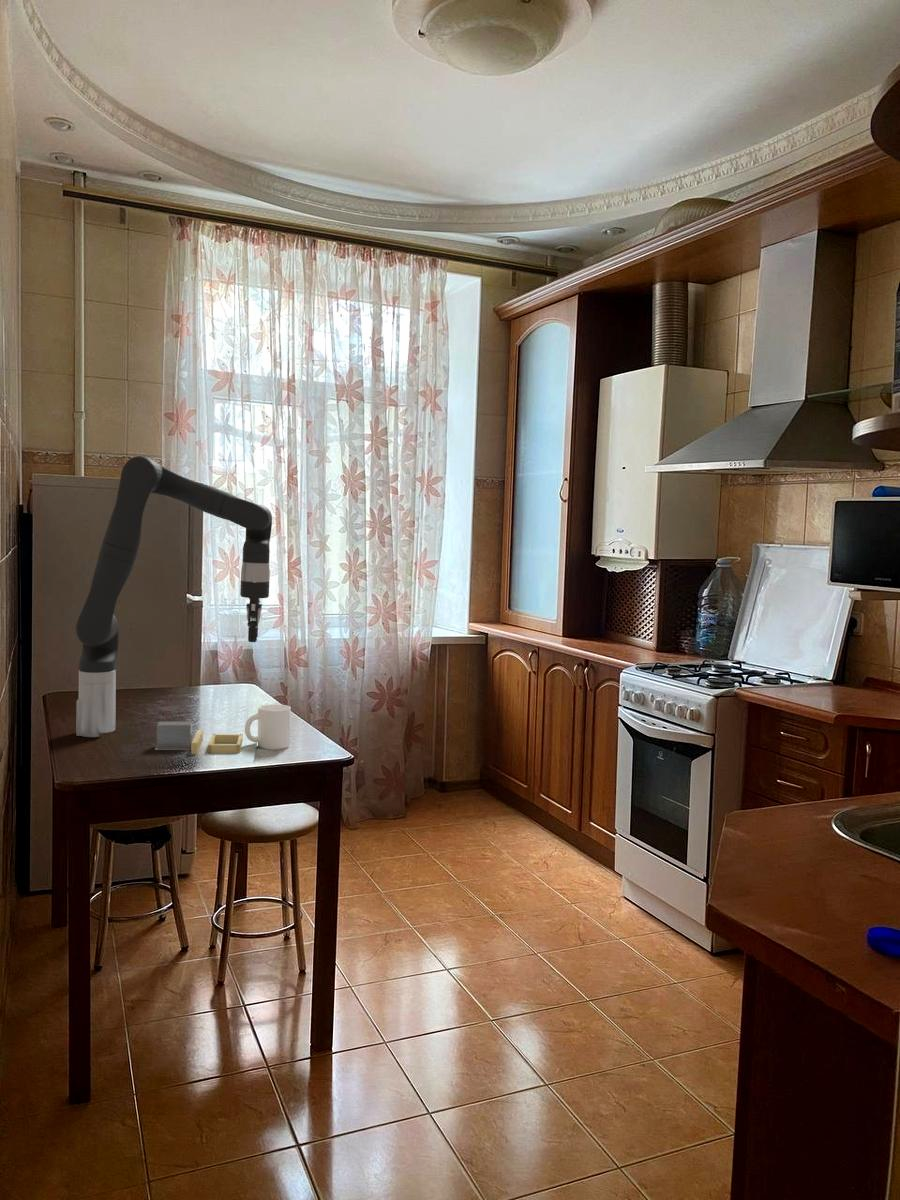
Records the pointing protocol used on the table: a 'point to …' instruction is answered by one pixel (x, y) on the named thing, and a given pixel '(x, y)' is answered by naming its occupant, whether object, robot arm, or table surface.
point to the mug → (271, 726)
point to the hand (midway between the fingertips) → (252, 639)
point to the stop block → (174, 735)
